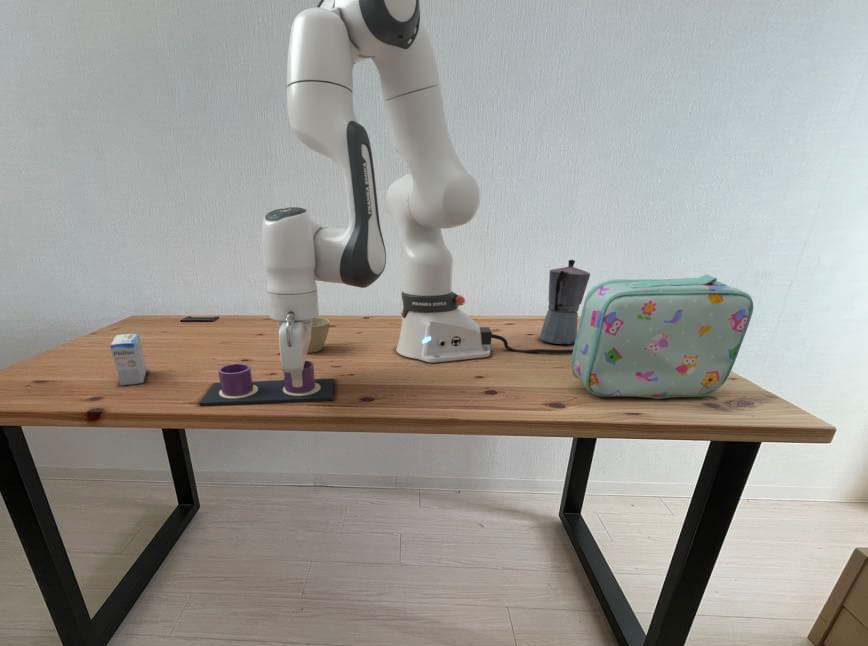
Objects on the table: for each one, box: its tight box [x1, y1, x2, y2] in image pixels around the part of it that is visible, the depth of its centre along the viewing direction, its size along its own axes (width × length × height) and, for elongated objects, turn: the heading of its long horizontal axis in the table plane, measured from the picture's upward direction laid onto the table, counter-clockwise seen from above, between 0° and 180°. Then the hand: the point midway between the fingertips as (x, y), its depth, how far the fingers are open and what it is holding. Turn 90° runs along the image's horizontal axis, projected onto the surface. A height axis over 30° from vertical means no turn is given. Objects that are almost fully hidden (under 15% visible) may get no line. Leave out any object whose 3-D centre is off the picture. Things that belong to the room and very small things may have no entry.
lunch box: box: [570, 274, 754, 400], centre depth 82 cm, size 27×10×21 cm, turn 90°
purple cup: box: [282, 360, 316, 393], centre depth 87 cm, size 6×6×4 cm
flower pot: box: [307, 316, 331, 354], centre depth 111 cm, size 10×10×7 cm
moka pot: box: [539, 259, 591, 345], centre depth 113 cm, size 10×15×20 cm, turn 148°
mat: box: [199, 377, 335, 407], centre depth 88 cm, size 24×10×1 cm, turn 94°
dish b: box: [217, 363, 254, 396], centre depth 86 cm, size 6×6×4 cm
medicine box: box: [109, 333, 147, 386], centre depth 94 cm, size 8×4×9 cm, turn 21°
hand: (299, 378), depth 87 cm, fingers closed on purple cup, 6 cm apart
